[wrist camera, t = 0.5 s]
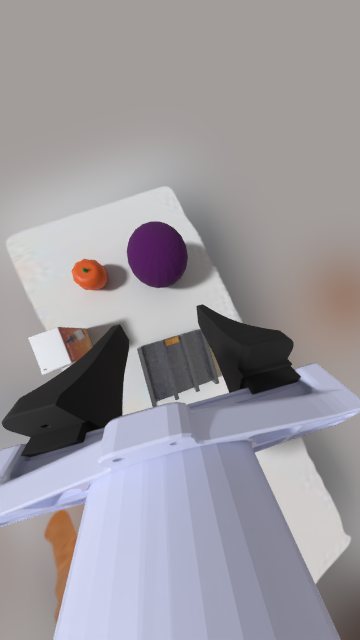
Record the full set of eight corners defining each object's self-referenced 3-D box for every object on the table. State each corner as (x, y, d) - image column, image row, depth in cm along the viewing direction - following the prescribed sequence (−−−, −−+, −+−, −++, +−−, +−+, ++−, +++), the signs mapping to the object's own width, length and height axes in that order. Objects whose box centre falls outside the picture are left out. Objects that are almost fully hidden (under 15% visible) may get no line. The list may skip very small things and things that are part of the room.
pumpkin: (116, 284, 38) (106, 273, 31) (91, 298, 37) (74, 290, 30) (102, 262, 38) (89, 246, 31) (76, 275, 37) (55, 262, 30)
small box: (97, 354, 36) (72, 364, 26) (76, 363, 35) (41, 376, 25) (86, 327, 36) (58, 326, 26) (65, 335, 35) (26, 337, 25)
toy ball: (123, 263, 39) (102, 222, 24) (164, 240, 42) (166, 190, 27) (152, 303, 40) (148, 287, 25) (190, 278, 42) (208, 250, 28)
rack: (213, 378, 41) (219, 383, 37) (153, 400, 37) (153, 408, 33) (199, 328, 41) (203, 328, 37) (139, 346, 38) (137, 348, 34)
